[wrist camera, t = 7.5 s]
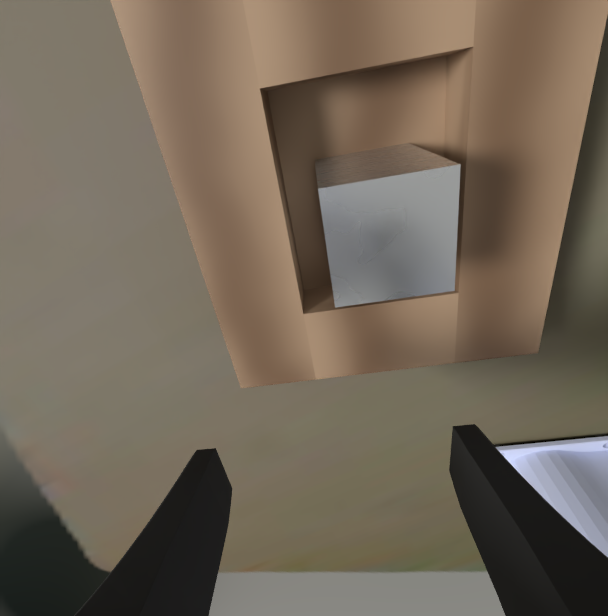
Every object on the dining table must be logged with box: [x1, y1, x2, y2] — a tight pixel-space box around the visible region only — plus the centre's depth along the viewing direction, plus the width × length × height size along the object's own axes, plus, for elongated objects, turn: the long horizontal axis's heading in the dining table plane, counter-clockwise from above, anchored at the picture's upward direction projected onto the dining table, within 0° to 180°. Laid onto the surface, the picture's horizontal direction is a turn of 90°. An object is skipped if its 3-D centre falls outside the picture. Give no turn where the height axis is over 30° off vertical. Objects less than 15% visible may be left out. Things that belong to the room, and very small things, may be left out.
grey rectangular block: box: [315, 143, 461, 308], centre depth 14 cm, size 4×4×6 cm
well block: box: [110, 0, 608, 388], centre depth 15 cm, size 15×17×3 cm
